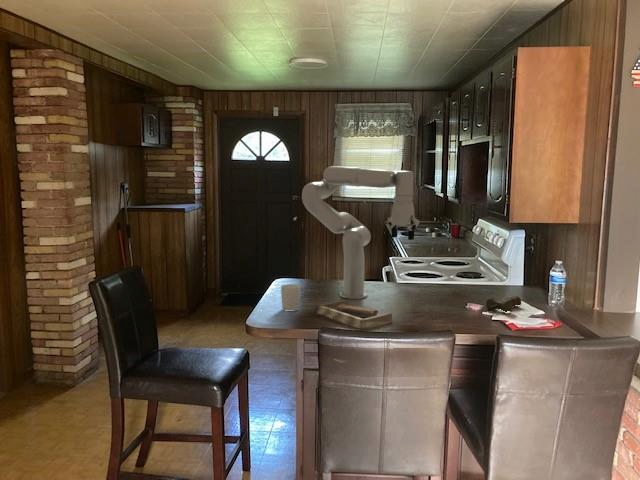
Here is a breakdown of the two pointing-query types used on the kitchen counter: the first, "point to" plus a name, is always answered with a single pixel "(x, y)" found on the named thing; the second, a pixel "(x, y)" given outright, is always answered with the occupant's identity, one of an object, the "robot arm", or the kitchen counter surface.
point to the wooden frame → (352, 320)
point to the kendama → (503, 303)
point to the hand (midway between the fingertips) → (402, 238)
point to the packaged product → (357, 311)
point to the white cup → (290, 296)
